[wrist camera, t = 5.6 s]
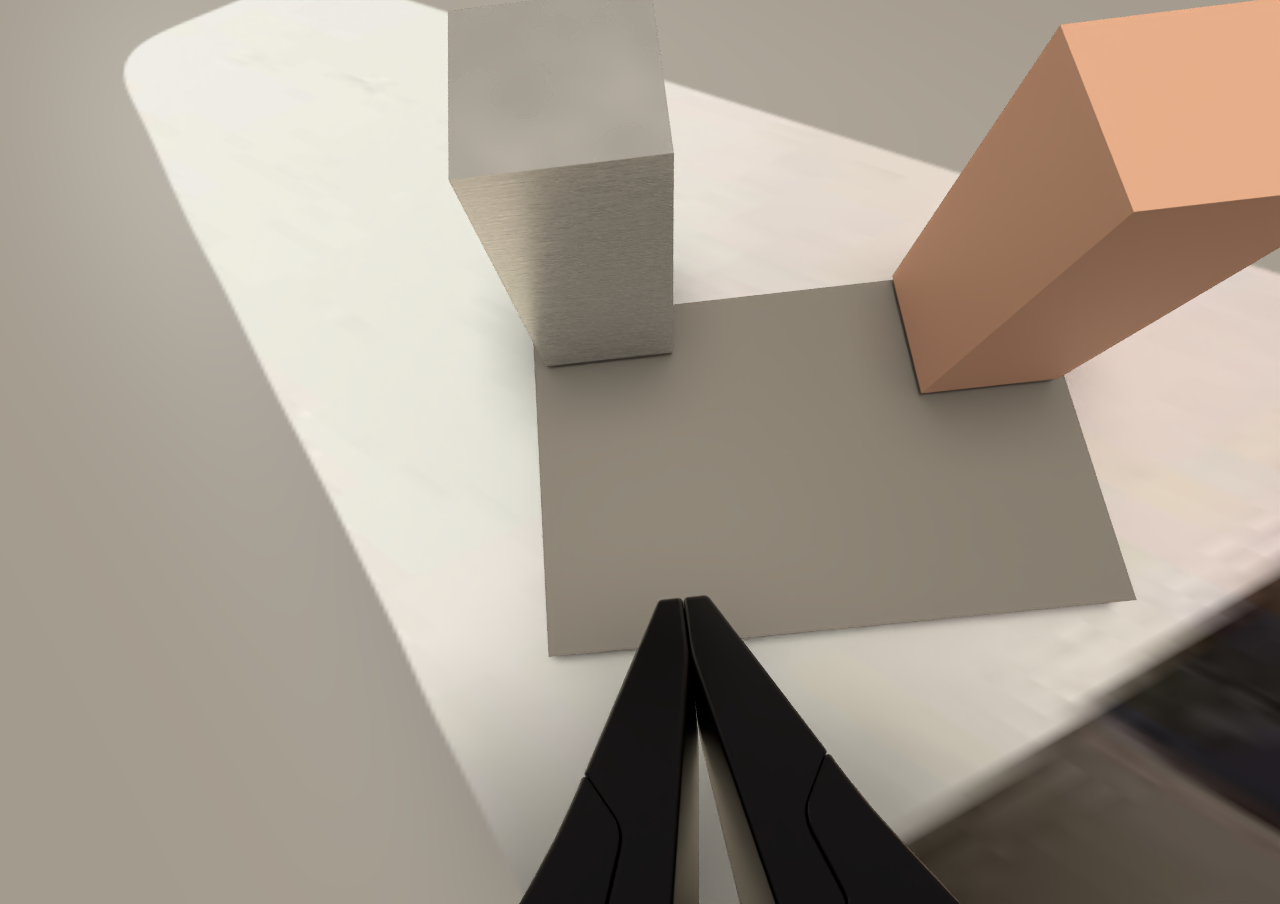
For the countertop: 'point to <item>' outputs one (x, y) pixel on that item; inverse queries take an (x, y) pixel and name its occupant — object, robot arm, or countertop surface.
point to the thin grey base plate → (807, 480)
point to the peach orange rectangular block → (1101, 196)
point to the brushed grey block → (568, 169)
